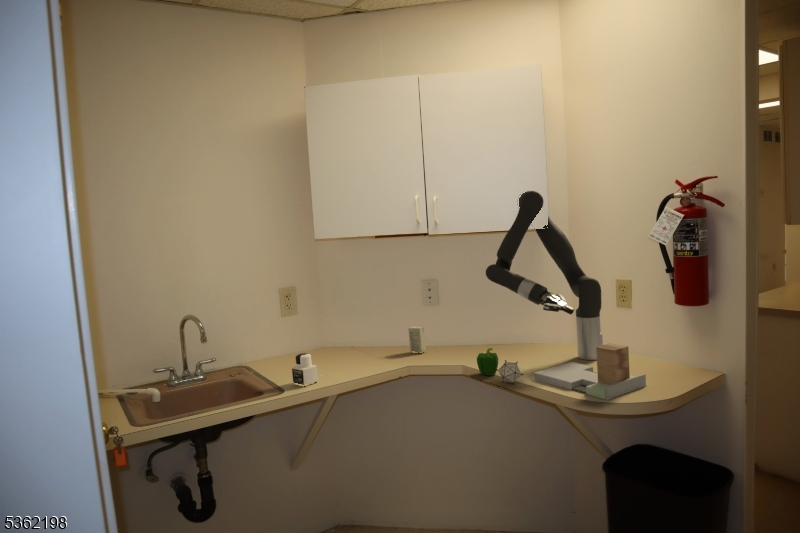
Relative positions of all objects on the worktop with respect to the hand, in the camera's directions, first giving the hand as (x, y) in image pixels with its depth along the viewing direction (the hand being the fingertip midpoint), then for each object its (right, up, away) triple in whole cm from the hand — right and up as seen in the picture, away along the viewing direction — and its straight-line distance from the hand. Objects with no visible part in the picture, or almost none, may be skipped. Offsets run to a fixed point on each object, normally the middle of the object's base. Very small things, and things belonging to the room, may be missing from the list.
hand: (572, 311), depth 193 cm
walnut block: (+6, -21, -23) cm, 32 cm away
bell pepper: (-31, -25, +6) cm, 40 cm away
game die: (-25, -25, -7) cm, 36 cm away
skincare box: (-56, -24, +49) cm, 78 cm away
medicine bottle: (-103, -30, +12) cm, 108 cm away
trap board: (+1, -24, -13) cm, 27 cm away
